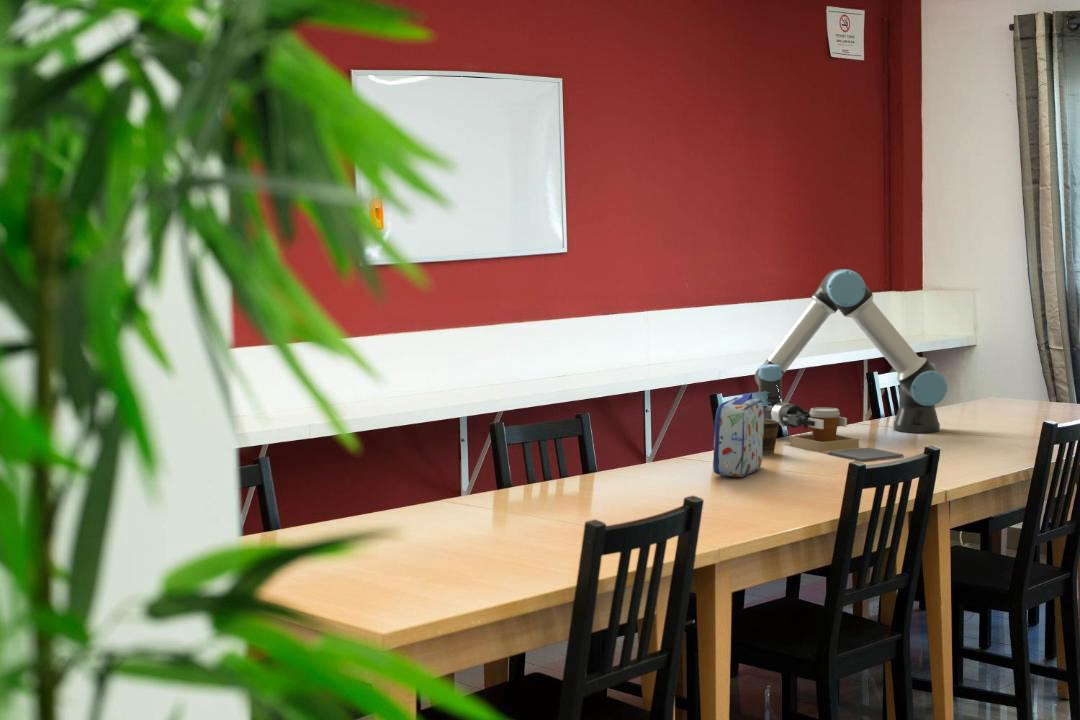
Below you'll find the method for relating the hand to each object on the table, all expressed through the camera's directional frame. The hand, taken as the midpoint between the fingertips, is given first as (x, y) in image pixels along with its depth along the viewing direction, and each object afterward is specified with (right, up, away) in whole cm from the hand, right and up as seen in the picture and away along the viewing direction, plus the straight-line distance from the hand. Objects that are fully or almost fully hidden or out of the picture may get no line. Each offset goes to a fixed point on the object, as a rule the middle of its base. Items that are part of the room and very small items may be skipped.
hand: (834, 423), depth 402 cm
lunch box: (-35, -12, -37) cm, 53 cm away
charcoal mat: (+7, -9, -12) cm, 16 cm away
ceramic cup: (-24, -9, -7) cm, 27 cm away
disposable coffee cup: (-2, -8, +5) cm, 9 cm away
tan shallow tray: (-2, -8, +5) cm, 9 cm away
